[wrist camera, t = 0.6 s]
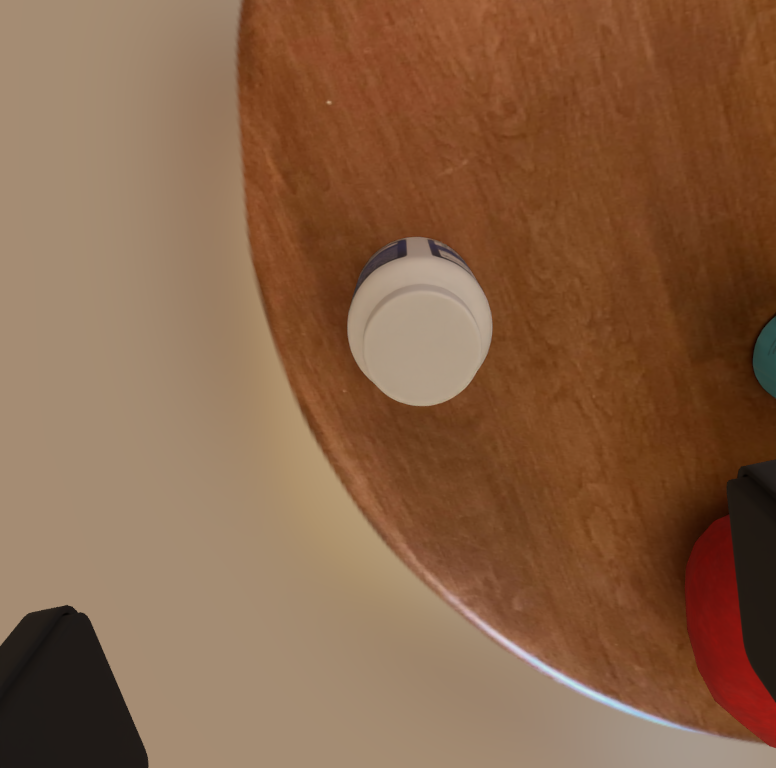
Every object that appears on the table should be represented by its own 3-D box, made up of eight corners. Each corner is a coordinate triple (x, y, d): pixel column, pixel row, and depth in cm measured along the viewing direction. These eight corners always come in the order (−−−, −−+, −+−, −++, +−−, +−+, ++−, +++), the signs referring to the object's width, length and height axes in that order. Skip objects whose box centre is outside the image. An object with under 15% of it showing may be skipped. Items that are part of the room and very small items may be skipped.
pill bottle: (359, 353, 34) (343, 429, 25) (353, 237, 32) (334, 271, 23) (474, 350, 34) (502, 424, 24) (474, 233, 32) (504, 265, 23)
